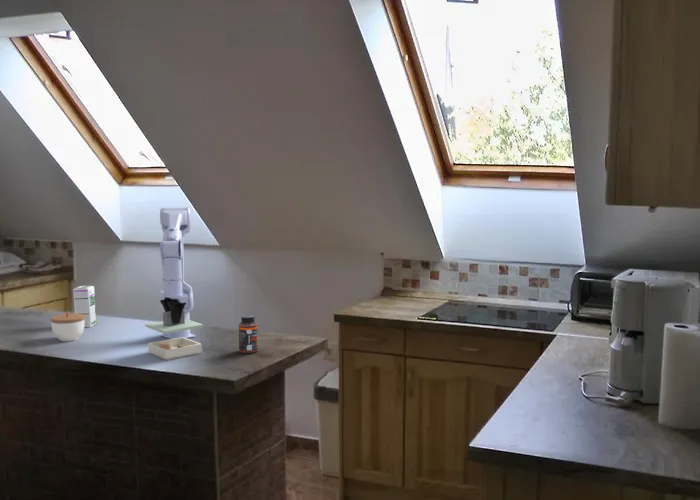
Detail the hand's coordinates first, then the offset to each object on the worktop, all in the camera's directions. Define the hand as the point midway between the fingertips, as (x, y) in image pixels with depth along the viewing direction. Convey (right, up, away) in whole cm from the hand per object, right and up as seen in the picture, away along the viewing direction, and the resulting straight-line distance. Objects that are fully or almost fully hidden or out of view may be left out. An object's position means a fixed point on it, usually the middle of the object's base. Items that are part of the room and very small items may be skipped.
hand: (174, 322), depth 223 cm
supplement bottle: (+23, -10, +2) cm, 25 cm away
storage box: (0, -10, +1) cm, 10 cm away
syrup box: (-42, -6, +40) cm, 58 cm away
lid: (0, -1, 0) cm, 1 cm away
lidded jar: (-40, -8, +20) cm, 46 cm away
